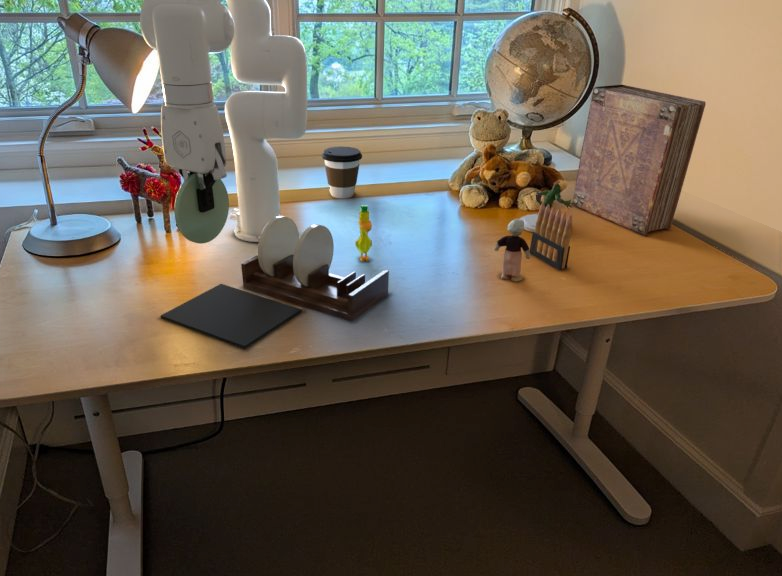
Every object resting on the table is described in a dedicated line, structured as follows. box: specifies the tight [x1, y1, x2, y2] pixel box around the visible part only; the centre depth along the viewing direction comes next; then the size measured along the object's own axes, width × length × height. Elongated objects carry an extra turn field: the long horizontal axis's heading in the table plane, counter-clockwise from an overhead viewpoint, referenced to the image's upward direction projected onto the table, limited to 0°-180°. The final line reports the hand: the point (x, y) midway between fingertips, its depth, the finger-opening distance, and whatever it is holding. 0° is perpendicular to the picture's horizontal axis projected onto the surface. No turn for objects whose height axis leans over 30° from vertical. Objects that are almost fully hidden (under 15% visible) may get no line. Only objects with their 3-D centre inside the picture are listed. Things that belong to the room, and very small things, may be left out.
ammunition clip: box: [529, 201, 573, 271], centre depth 138 cm, size 11×2×12 cm, turn 26°
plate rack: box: [240, 254, 390, 323], centre depth 126 cm, size 26×13×5 cm, turn 58°
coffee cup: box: [321, 146, 363, 199], centre depth 175 cm, size 11×11×12 cm
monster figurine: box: [519, 182, 573, 233], centre depth 157 cm, size 12×12×10 cm
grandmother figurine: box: [493, 218, 532, 283], centre depth 130 cm, size 8×4×13 cm, turn 71°
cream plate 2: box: [293, 224, 335, 287], centre depth 123 cm, size 1×12×12 cm, turn 149°
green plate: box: [173, 173, 230, 245], centre depth 109 cm, size 1×12×12 cm, turn 149°
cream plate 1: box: [257, 215, 300, 277], centre depth 127 cm, size 1×12×12 cm, turn 149°
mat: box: [160, 283, 303, 350], centre depth 118 cm, size 20×16×1 cm
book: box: [571, 84, 707, 237], centre depth 158 cm, size 25×9×30 cm, turn 28°
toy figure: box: [354, 204, 373, 263], centre depth 137 cm, size 7×4×12 cm, turn 13°
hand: (203, 208), depth 109 cm, fingers closed on green plate, 1 cm apart
